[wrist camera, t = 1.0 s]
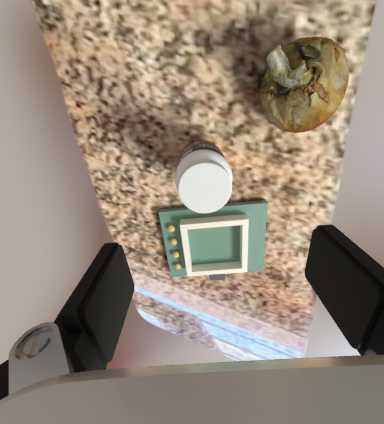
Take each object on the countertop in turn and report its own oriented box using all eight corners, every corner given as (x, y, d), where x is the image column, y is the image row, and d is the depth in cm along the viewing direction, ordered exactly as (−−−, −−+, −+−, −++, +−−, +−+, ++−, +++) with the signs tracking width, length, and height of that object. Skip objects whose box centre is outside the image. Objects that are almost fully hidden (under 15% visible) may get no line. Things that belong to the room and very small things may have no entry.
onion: (256, 137, 25) (281, 149, 18) (246, 60, 22) (273, 36, 14) (320, 119, 24) (374, 124, 17) (321, 35, 21) (389, -3, 14)
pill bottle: (232, 157, 26) (253, 182, 17) (206, 191, 28) (212, 229, 19) (195, 130, 25) (197, 141, 16) (170, 168, 27) (159, 197, 18)
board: (159, 209, 29) (156, 217, 27) (265, 199, 29) (271, 207, 26) (171, 272, 35) (170, 284, 32) (261, 265, 34) (265, 277, 32)
